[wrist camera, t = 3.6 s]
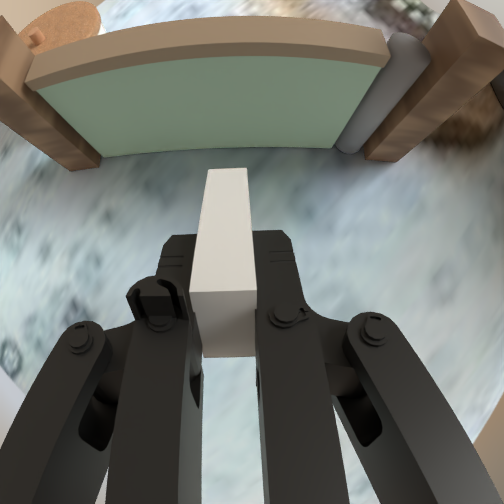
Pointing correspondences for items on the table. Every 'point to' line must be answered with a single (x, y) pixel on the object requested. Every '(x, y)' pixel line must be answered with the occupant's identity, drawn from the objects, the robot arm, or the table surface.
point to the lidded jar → (62, 27)
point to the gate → (229, 84)
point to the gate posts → (375, 148)
